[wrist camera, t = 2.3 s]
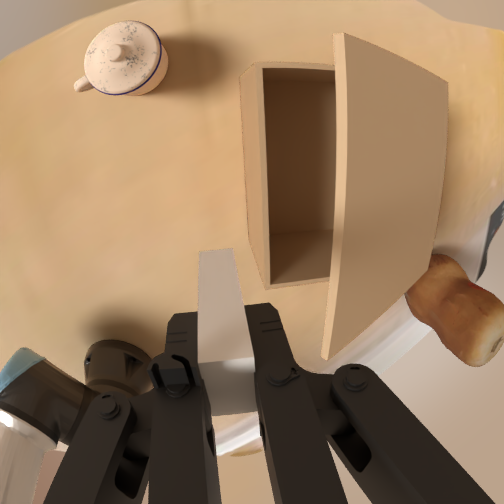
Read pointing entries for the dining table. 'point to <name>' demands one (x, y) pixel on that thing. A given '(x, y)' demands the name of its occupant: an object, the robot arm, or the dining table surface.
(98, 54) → the teacup with lid
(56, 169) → the dining table surface
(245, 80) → the carton
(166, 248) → the dining table surface
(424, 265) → the carton lid
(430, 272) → the butternut squash
